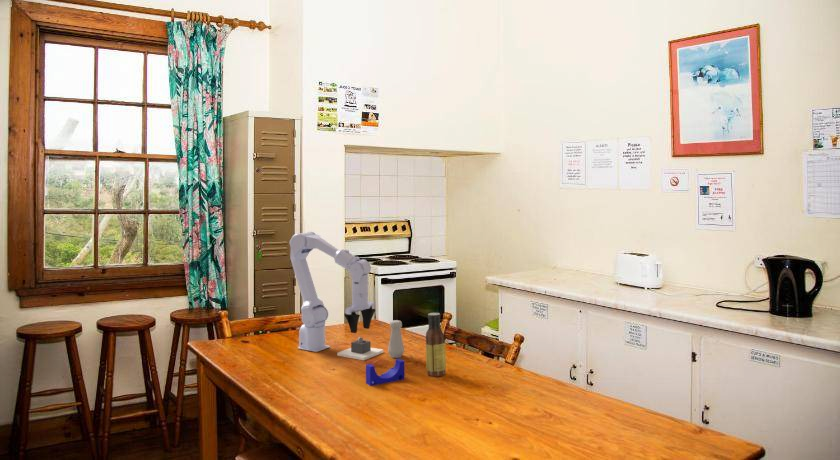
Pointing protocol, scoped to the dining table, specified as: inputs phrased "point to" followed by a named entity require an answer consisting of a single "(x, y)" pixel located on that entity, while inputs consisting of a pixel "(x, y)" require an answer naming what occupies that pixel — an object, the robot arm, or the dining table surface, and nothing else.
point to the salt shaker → (396, 340)
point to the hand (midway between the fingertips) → (360, 330)
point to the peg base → (359, 356)
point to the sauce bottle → (435, 347)
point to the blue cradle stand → (385, 374)
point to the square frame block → (360, 347)
